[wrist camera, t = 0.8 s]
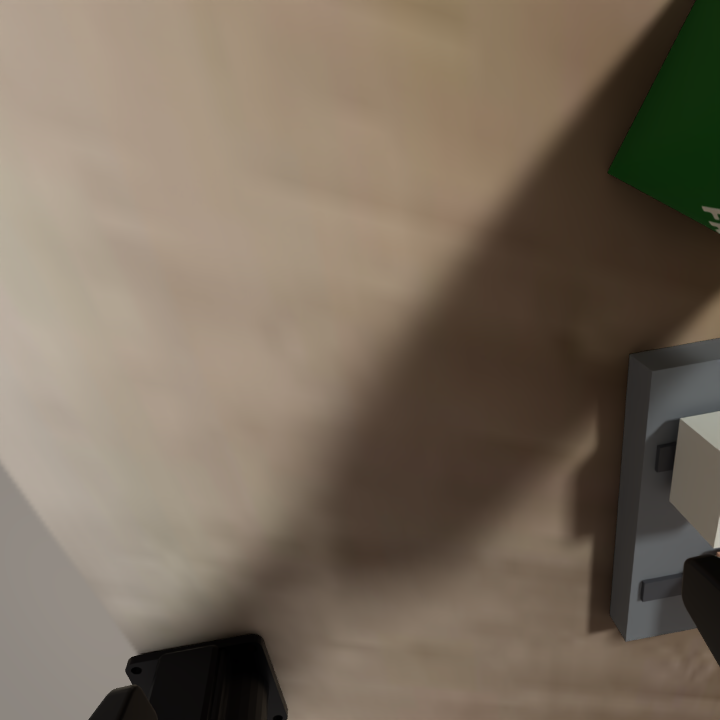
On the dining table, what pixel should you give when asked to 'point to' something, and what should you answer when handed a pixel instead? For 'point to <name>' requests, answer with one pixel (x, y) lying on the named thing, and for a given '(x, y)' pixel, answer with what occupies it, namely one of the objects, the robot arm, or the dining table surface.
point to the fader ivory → (698, 474)
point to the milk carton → (681, 125)
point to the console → (658, 487)
